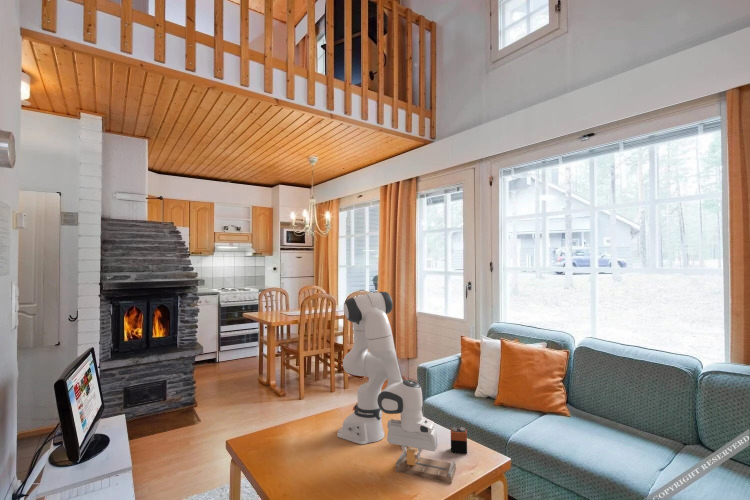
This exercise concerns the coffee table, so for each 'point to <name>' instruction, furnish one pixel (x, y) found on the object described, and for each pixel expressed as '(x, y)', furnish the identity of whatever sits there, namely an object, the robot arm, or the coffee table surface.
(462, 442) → the battery
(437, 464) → the fader board
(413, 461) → the fader knob
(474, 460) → the coffee table surface
